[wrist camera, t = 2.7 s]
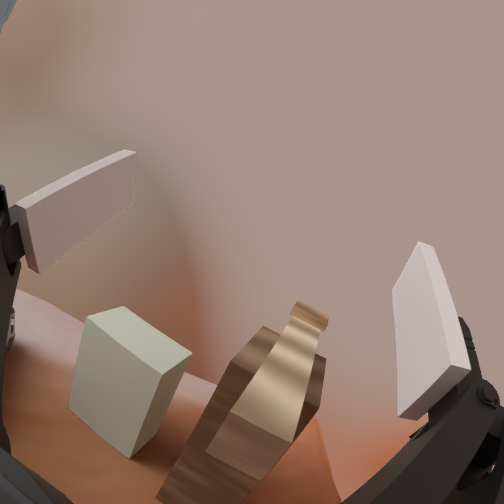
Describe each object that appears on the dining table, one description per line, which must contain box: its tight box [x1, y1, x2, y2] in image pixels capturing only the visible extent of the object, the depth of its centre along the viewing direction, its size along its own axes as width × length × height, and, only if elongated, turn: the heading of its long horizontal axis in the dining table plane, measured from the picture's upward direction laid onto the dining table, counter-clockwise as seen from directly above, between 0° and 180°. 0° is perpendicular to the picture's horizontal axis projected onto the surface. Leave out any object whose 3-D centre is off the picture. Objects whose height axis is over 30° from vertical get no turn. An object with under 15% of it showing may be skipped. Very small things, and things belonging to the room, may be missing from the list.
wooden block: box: [155, 326, 326, 504], centre depth 37 cm, size 14×10×29 cm
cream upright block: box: [68, 306, 192, 459], centre depth 44 cm, size 9×14×20 cm, turn 72°
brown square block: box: [205, 300, 329, 481], centre depth 30 cm, size 30×5×5 cm, turn 162°
